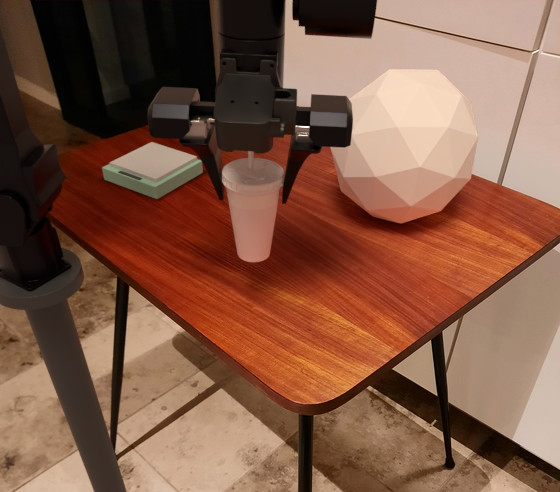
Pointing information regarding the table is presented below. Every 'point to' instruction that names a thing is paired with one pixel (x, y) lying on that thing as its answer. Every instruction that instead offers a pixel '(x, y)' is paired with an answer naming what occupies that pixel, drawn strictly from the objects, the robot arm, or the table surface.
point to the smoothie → (253, 204)
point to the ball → (407, 145)
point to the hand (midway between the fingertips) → (252, 200)
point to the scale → (153, 170)
